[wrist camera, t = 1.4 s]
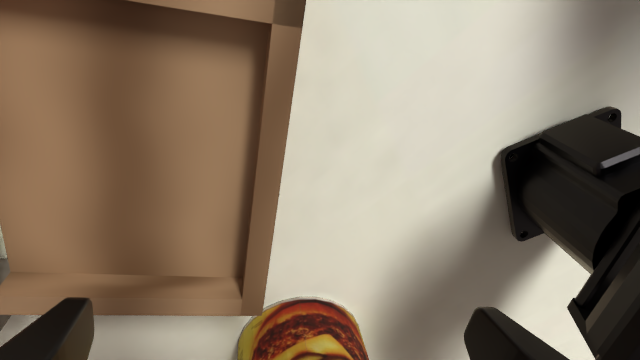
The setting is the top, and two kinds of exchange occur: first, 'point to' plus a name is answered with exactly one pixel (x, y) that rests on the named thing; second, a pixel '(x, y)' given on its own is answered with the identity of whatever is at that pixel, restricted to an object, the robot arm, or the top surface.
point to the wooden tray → (143, 152)
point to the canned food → (302, 332)
